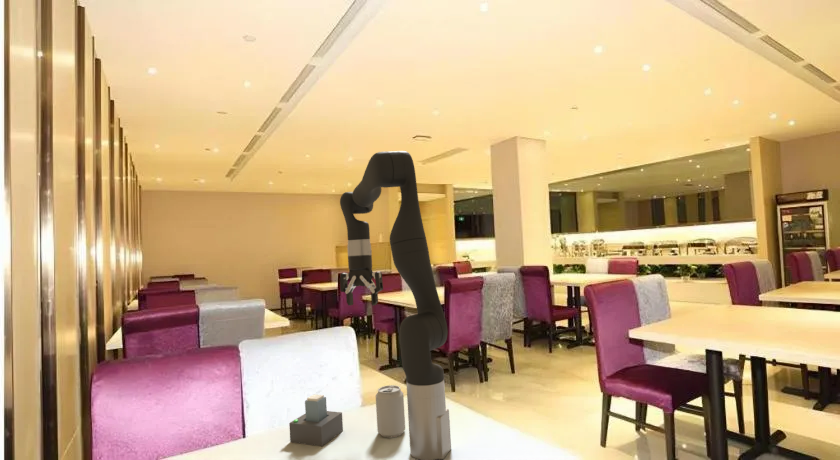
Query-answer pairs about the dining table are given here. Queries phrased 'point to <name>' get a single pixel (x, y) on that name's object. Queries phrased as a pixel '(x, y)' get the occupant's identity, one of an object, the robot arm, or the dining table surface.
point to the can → (390, 411)
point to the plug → (315, 408)
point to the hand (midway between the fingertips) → (362, 305)
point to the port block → (316, 429)
